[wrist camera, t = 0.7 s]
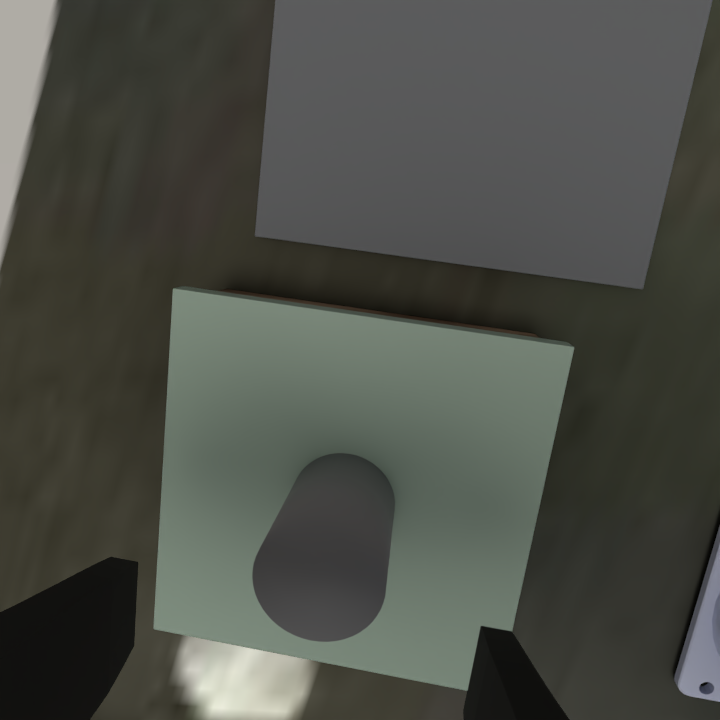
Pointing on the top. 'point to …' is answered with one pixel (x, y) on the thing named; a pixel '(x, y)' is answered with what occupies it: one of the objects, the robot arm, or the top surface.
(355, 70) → the slate mat
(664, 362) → the top surface
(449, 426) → the lid
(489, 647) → the robot arm
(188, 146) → the top surface
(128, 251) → the top surface
